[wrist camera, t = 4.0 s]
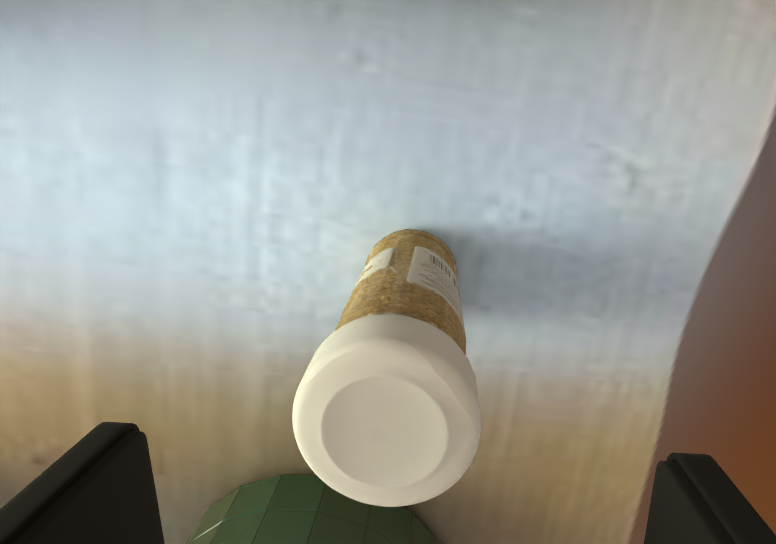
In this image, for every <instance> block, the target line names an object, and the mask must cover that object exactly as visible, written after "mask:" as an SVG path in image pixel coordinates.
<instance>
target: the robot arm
mask: <svg viewBox="0 0 776 544" xmlns="http://www.w3.org/2000/svg"><path fill="white" fill-rule="evenodd" d="M0 544H164V538H163V532H162V526H161V520H160V514H159V508H158V502H157V496H156V490H155V484H154V478H153V473H152V467H151V461H150V455H149V449H148V443H147V438H146V435H145V434H144V433H143V432H140V431H139V428H138V427H137V425H135V424H133V423H119V422H103V423H101V424H99V425H97V426H96V427H95V428H94V429H93V430H92V431H90V432H89V433H88V434H87V435H86V436H85V437H84V438H82V439H81V440H80V441H79V442H78V443H77V444H75V445H74V446H73V447H72V448H71V449H70V450H68V451H67V452H66V453H65V454H64V455H63V456H61V457H60V458H59V459H58V460H57V461H56V462H54V463H53V464H52V465H51V466H50V467H49V468H47V469H46V470H45V471H44V472H43V473H42V474H41V475H39V476H38V477H37V478H36V479H35V480H34V481H32V482H31V483H30V484H29V485H28V486H27V487H25V488H24V489H23V490H22V491H21V492H20V493H18V494H17V495H16V496H15V497H14V498H13V499H11V500H10V501H9V502H8V503H7V504H6V505H4V506H3V507H2V508H1V509H0ZM644 544H776V535H775V534H774V533H773V532H772V530H771V529H770V528H769V527H768V525H767V524H766V523H765V522H764V520H763V519H762V518H761V517H760V516H759V514H758V513H757V512H756V511H755V509H754V508H753V507H752V506H751V504H750V503H749V502H748V501H747V499H746V498H745V497H744V496H743V494H742V493H741V492H740V491H739V490H738V488H737V487H736V486H735V485H734V484H733V482H732V481H731V480H730V478H729V477H728V476H727V475H726V473H725V472H724V471H723V470H722V469H721V467H720V466H719V465H718V464H717V462H716V461H715V460H714V459H713V458H712V457H711V456H709V455H706V454H687V453H671V454H670V455H669V456H668V458H667V461H660V462H658V464H657V468H656V472H655V479H654V485H653V491H652V497H651V503H650V509H649V516H648V522H647V529H646V534H645V540H644Z"/></svg>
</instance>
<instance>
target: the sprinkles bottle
mask: <svg viewBox="0 0 776 544" xmlns="http://www.w3.org/2000/svg"><path fill="white" fill-rule="evenodd" d="M292 421H293V430H294V435H295V438H296V442H297V445H298V447H299V450H300V452H301V454H302V456H303V458H304V459H305V461H306V462H307V464H308V465H309V467H310V468H311V469H312V470H313V472H314V473H315V474H316V475H317V476H318V477H319V478H320V479H321V480H322V481H323V482H325V483H326V484H327V485H328V486H330V487H331V488H332V489H334V490H336V491H337V492H339V493H341V494H343V495H345V496H346V497H349V498H351V499H354V500H356V501H359V502H362V503H366V504H371V505H376V506H384V507H399V506H407V505H413V504H417V503H420V502H424V501H427V500H429V499H432V498H434V497H436V496H438V495H440V494H441V493H443V492H444V491H446V490H447V489H449V488H450V487H451V486H453V485H454V484H455V483H456V482H457V481H458V480H459V479H460V478H461V477H462V476H463V474H464V473H465V472H466V471H467V469H468V468H469V466H470V464H471V463H472V461H473V459H474V457H475V454H476V452H477V449H478V445H479V440H480V435H481V415H480V403H479V396H478V388H477V383H476V378H475V374H474V372H473V369H472V366H471V364H470V362H469V360H468V358H467V357H466V335H465V329H464V322H463V316H462V309H461V302H460V295H459V289H458V284H457V267H456V263H455V260H454V258H453V255H452V253H451V251H450V250H449V248H448V247H447V246H446V245H445V244H444V243H443V242H442V241H441V240H439V239H438V238H437V237H435V236H433V235H431V234H428V233H427V232H424V231H418V230H412V229H405V230H401V231H397V232H394V233H392V234H390V235H388V236H387V237H385V238H383V239H382V240H380V241H379V242H378V243H377V244H376V245H375V246H374V248H373V249H372V251H371V252H370V254H369V256H368V258H367V261H366V265H365V268H364V269H363V271H362V273H361V275H360V277H359V279H358V281H357V283H356V285H355V287H354V289H353V291H352V293H351V296H350V298H349V300H348V302H347V304H346V306H345V308H344V310H343V313H342V316H341V319H340V322H339V324H338V326H337V328H336V330H335V332H333V333H332V334H331V335H330V336H329V337H327V338H326V339H325V341H324V342H323V343H322V344H321V345H320V347H319V348H318V350H317V351H316V353H315V354H314V356H313V358H312V360H311V362H310V363H309V366H308V368H307V370H306V372H305V374H304V376H303V378H302V381H301V383H300V385H299V387H298V389H297V393H296V396H295V399H294V404H293V416H292Z"/></svg>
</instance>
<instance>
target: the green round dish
mask: <svg viewBox="0 0 776 544" xmlns="http://www.w3.org/2000/svg"><path fill="white" fill-rule="evenodd" d="M186 544H440V543H439V542H438V541H437V540H436V539H435V538H434V536H433V535H432V534H431V533H430V532H429V531H428V530H427V529H426V527H425V526H424V525H423V524H422V523H421V522H420V521H419V520H418V518H417V517H416V516H415V515H414V514H413V513H412V512H410V511H409V510H407V509H405V508H404V507H402V506H399V507H384V506H376V505H371V504H366V503H362V502H359V501H356V500H354V499H351V498H349V497H346V496H345V495H343V494H341V493H339V492H337V491H336V490H334V489H332V488H331V487H330V486H328V485H327V484H326V483H325V482H323V481H322V480H321V479H320V478H319V477H318V476H317V475H298V474H283V475H279V476H275V477H272V478H268V479H264V480H261V481H257V482H253V483H250V484H246V485H243V486H240V487H239V488H237V489H236V490H234V491H233V492H231V493H230V494H229V495H227V496H226V497H224V498H223V499H221V500H220V501H218V502H217V503H215V504H214V505H212V506H211V507H210V508H209V510H208V511H207V513H206V514H205V515H204V517H203V518H202V520H201V521H200V523H199V524H198V526H197V527H196V529H195V530H194V532H193V533H192V535H191V536H190V538H189V539H188V541H187V543H186Z"/></svg>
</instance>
